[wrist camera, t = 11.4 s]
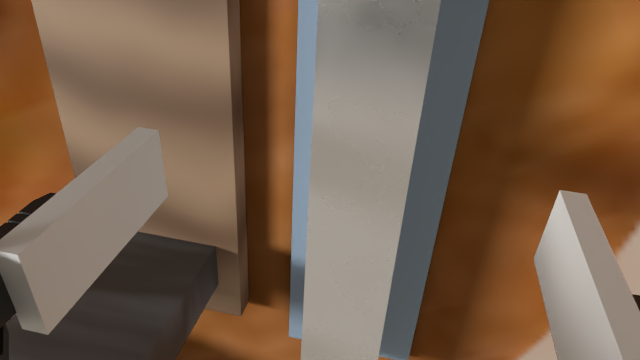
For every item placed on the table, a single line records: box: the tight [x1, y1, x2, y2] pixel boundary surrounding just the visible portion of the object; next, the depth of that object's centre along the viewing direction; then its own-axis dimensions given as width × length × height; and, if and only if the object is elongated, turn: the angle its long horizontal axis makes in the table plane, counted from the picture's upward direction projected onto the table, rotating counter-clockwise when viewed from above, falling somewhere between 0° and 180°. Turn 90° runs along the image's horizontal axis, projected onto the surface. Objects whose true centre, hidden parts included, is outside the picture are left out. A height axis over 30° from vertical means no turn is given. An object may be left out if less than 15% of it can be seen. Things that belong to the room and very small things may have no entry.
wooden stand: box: [6, 0, 249, 360], centre depth 20 cm, size 30×10×14 cm, turn 177°
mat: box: [289, 0, 489, 360], centre depth 23 cm, size 34×8×1 cm, turn 177°
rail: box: [301, 0, 441, 360], centre depth 21 cm, size 32×4×5 cm, turn 177°
